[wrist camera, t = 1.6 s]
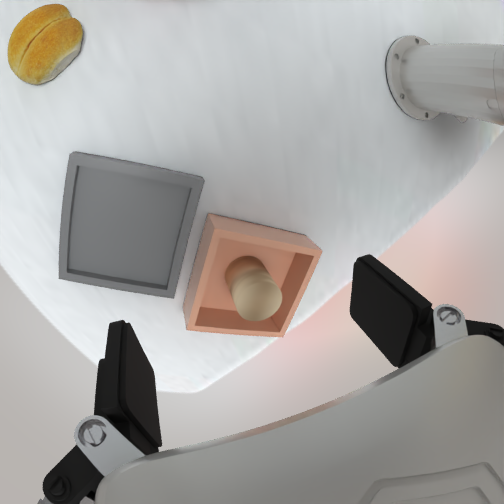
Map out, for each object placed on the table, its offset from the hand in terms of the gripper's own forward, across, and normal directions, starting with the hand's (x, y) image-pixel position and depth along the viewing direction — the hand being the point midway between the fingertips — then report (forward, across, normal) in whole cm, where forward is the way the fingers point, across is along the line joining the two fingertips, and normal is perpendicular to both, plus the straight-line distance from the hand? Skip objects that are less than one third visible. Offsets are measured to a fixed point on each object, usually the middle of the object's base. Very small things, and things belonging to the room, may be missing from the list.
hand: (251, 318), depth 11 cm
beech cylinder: (+21, -4, +12) cm, 25 cm away
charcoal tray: (+22, +8, +3) cm, 24 cm away
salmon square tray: (+22, -4, +12) cm, 25 cm away
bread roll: (+22, +13, -20) cm, 32 cm away
